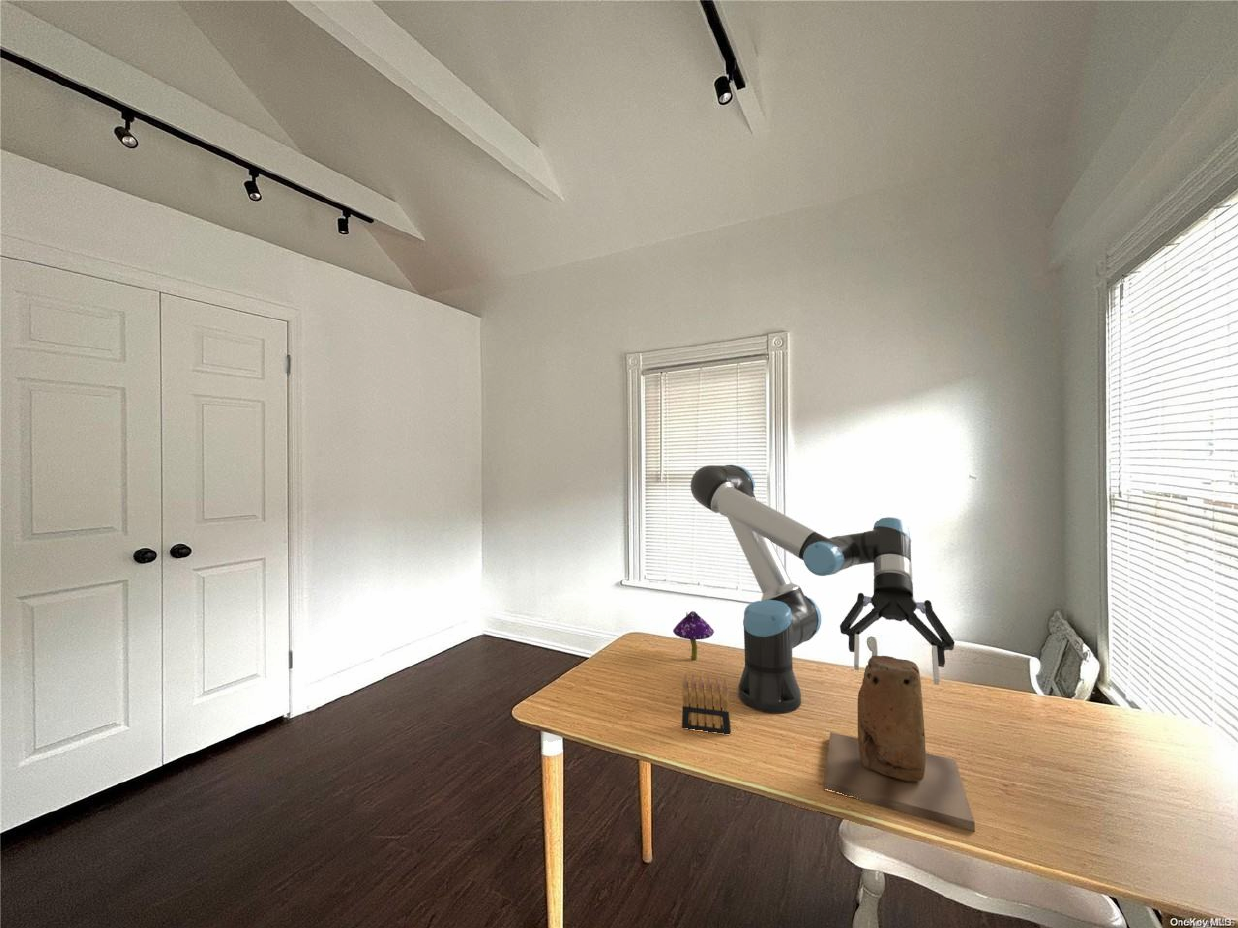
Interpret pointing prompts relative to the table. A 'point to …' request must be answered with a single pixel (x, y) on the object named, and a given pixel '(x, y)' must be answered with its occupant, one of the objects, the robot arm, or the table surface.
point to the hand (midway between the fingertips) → (895, 674)
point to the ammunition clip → (705, 707)
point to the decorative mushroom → (693, 630)
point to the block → (892, 719)
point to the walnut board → (899, 785)
